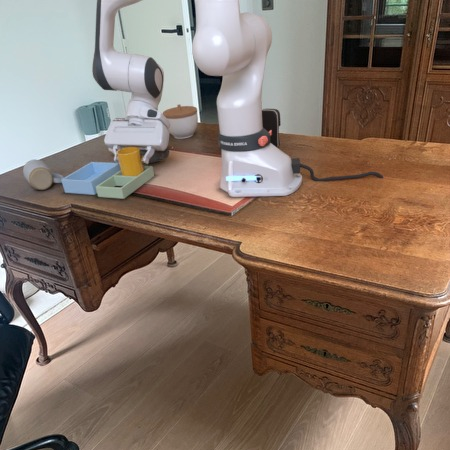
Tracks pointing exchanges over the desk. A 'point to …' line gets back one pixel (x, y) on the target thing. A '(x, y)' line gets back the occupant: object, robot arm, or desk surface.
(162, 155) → the anime figure
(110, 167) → the open storage box
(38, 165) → the ceramic mug
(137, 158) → the tumbler
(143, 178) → the divided storage tray
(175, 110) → the lidded bowl
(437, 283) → the desk surface
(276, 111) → the battery charger
